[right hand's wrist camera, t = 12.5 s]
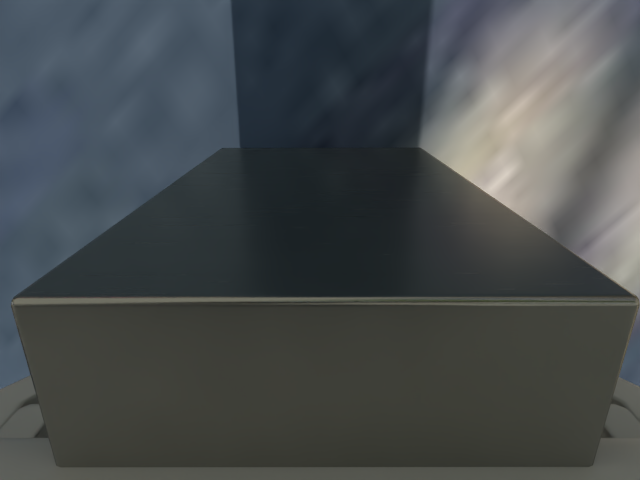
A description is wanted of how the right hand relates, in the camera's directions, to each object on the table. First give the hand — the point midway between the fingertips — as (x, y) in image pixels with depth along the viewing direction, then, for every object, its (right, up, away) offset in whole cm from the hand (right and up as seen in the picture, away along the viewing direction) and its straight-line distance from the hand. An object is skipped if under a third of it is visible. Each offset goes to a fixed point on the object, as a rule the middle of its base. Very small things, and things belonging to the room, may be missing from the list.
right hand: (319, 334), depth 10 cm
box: (0, -6, +6) cm, 8 cm away
